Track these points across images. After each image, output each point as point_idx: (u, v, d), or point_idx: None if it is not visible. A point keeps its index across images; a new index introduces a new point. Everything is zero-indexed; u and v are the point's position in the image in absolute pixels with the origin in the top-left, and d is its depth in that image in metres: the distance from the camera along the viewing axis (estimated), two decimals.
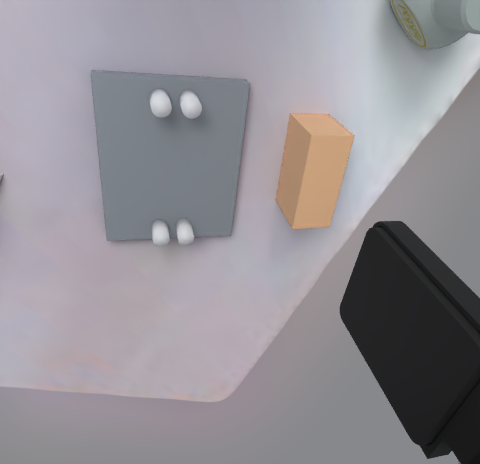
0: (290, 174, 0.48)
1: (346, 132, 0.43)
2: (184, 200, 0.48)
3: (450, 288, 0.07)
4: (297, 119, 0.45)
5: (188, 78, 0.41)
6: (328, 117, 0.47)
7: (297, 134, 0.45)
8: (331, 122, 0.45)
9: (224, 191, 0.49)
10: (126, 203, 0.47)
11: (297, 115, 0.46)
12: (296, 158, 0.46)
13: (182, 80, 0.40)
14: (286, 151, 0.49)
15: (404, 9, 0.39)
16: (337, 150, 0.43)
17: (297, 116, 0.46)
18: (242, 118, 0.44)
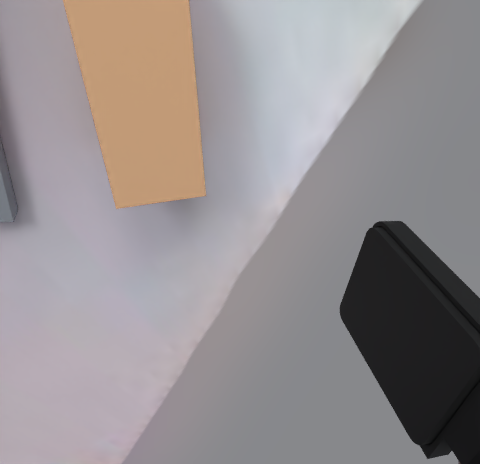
0: None
1: None
2: None
3: (450, 288, 0.07)
4: None
5: None
6: None
7: None
8: None
9: None
10: None
11: None
12: None
13: None
14: None
15: None
16: None
17: None
18: None
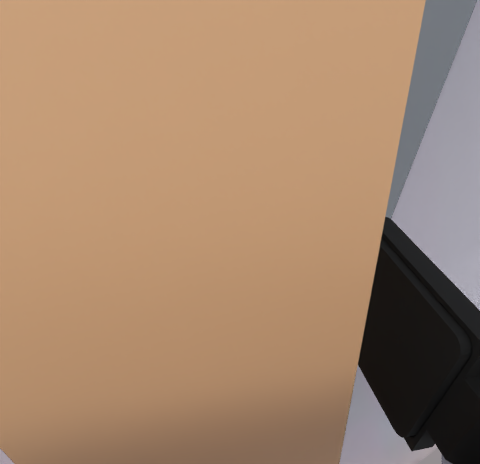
0: None
1: None
2: None
3: (432, 282, 0.07)
4: None
5: None
6: None
7: None
8: None
9: None
10: None
11: None
12: None
13: None
14: None
15: None
16: (240, 179, 0.04)
17: None
18: None
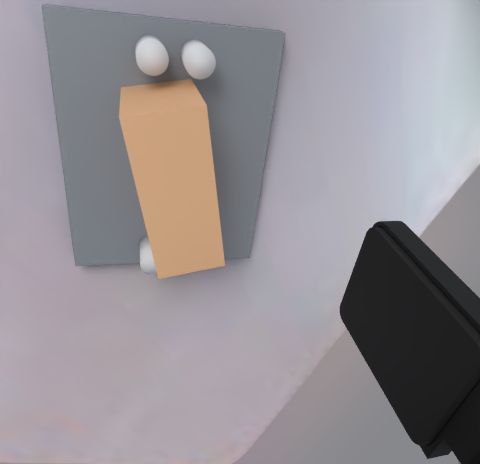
0: None
1: (195, 102, 0.23)
2: None
3: (450, 288, 0.07)
4: (123, 95, 0.26)
5: (195, 22, 0.27)
6: (186, 83, 0.27)
7: None
8: (183, 90, 0.26)
9: (242, 196, 0.35)
10: (102, 212, 0.32)
11: (129, 89, 0.27)
12: None
13: (185, 23, 0.26)
14: None
15: None
16: (184, 137, 0.23)
17: (128, 90, 0.27)
18: (272, 87, 0.30)
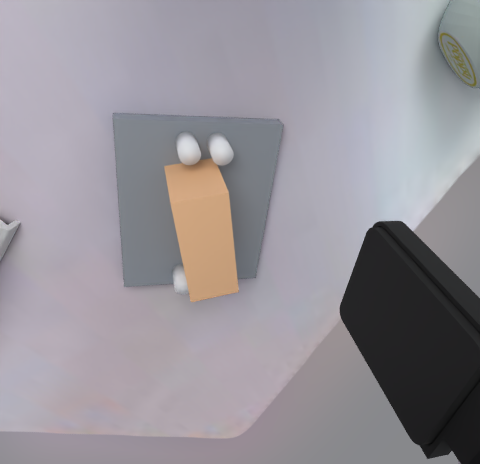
0: None
1: (220, 188, 0.34)
2: None
3: (450, 288, 0.07)
4: (167, 176, 0.37)
5: (218, 120, 0.37)
6: (211, 164, 0.38)
7: None
8: (210, 172, 0.36)
9: (250, 234, 0.46)
10: (146, 249, 0.43)
11: (171, 168, 0.38)
12: None
13: (211, 123, 0.37)
14: None
15: (455, 47, 0.36)
16: (212, 212, 0.34)
17: (170, 170, 0.37)
18: (273, 160, 0.41)
